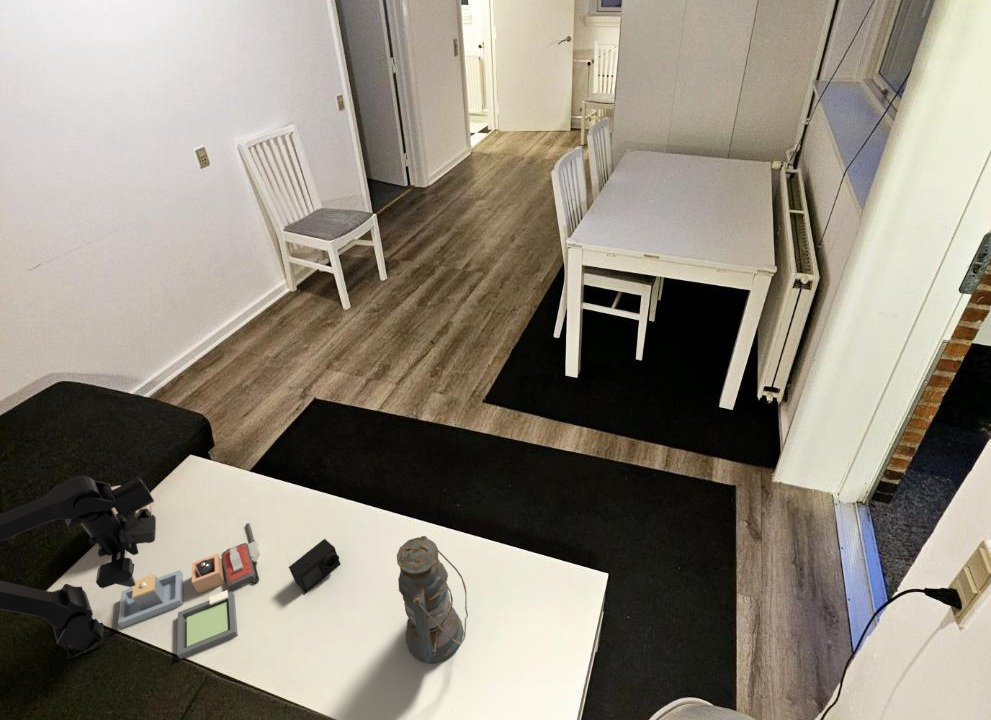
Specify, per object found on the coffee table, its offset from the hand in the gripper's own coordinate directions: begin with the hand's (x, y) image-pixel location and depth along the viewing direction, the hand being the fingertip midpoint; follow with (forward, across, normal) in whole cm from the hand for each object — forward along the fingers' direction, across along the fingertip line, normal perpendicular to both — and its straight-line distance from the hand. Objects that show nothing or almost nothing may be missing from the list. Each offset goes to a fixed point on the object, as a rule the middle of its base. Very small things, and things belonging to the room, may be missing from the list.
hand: (134, 569), depth 129 cm
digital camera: (+12, -11, -38) cm, 41 cm away
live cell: (+11, -1, 0) cm, 11 cm away
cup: (+12, 0, -13) cm, 18 cm away
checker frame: (+12, -14, -12) cm, 22 cm away
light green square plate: (+11, -13, -12) cm, 21 cm away
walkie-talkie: (+13, +3, -20) cm, 24 cm away
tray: (+12, -1, 0) cm, 12 cm away
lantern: (+12, -38, -59) cm, 71 cm away
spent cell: (+12, 0, -13) cm, 17 cm away
